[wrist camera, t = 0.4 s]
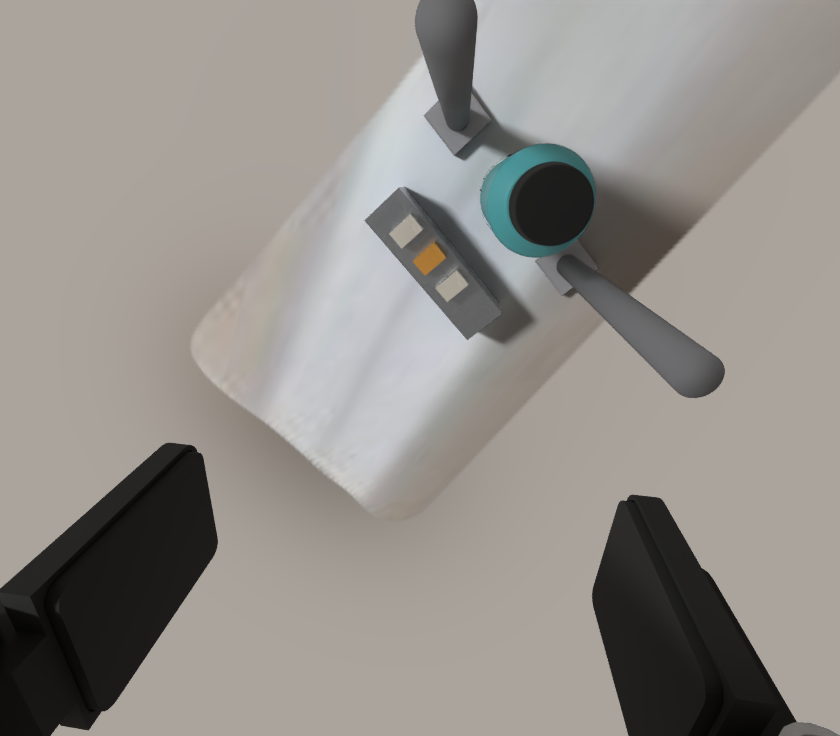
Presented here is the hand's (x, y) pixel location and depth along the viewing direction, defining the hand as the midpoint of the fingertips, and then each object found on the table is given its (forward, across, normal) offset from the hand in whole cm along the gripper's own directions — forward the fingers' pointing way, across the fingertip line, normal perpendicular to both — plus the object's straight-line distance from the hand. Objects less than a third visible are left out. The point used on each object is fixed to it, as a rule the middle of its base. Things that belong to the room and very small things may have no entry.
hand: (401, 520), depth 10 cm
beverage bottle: (+36, -5, -5) cm, 37 cm away
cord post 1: (+36, +1, -11) cm, 38 cm away
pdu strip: (+36, +2, +1) cm, 36 cm away
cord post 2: (+36, -10, 0) cm, 37 cm away
